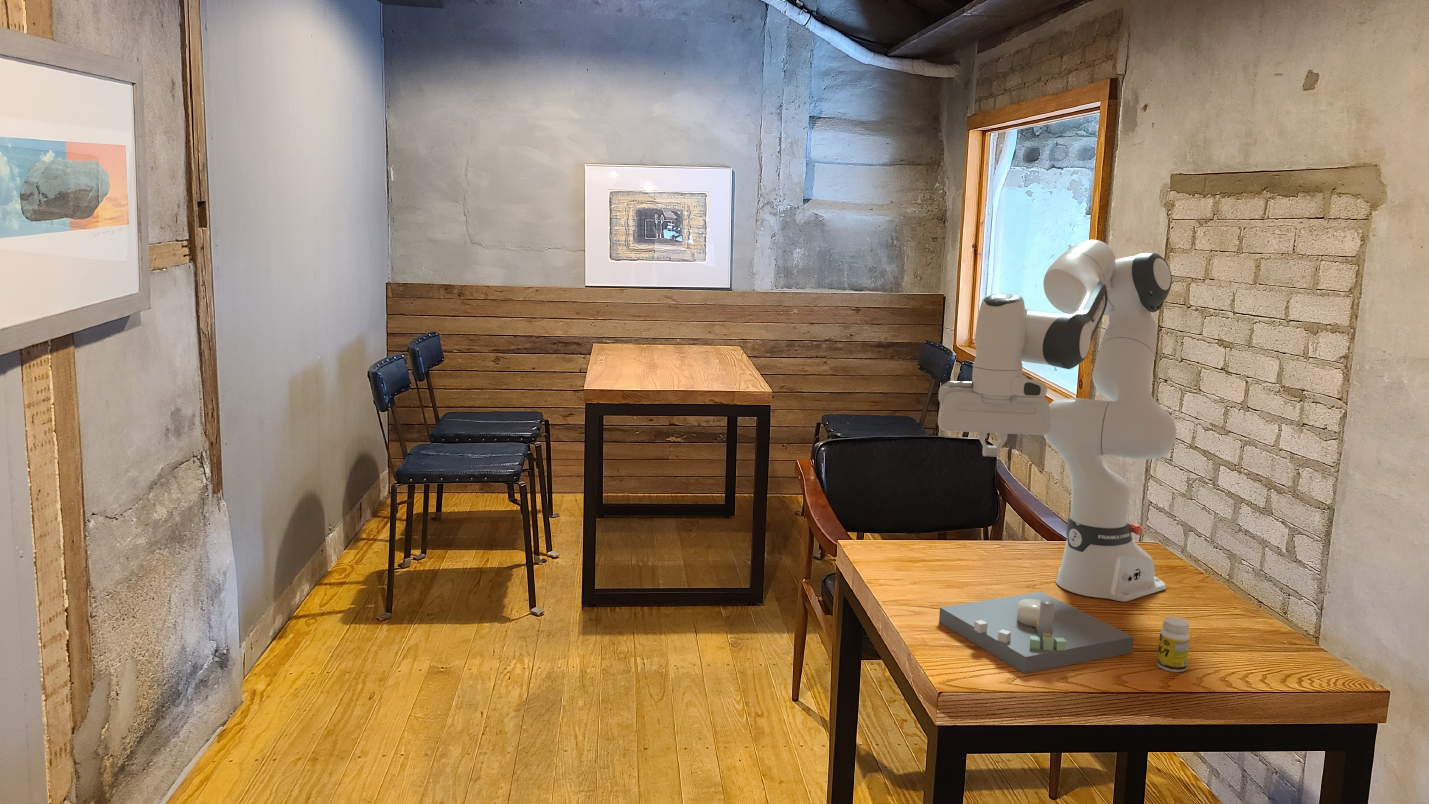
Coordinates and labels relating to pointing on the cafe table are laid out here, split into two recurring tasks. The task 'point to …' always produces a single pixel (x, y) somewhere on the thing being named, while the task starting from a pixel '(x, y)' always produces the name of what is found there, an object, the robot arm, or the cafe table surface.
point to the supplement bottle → (1174, 645)
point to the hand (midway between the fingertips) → (990, 455)
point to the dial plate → (1035, 633)
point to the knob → (1037, 615)
